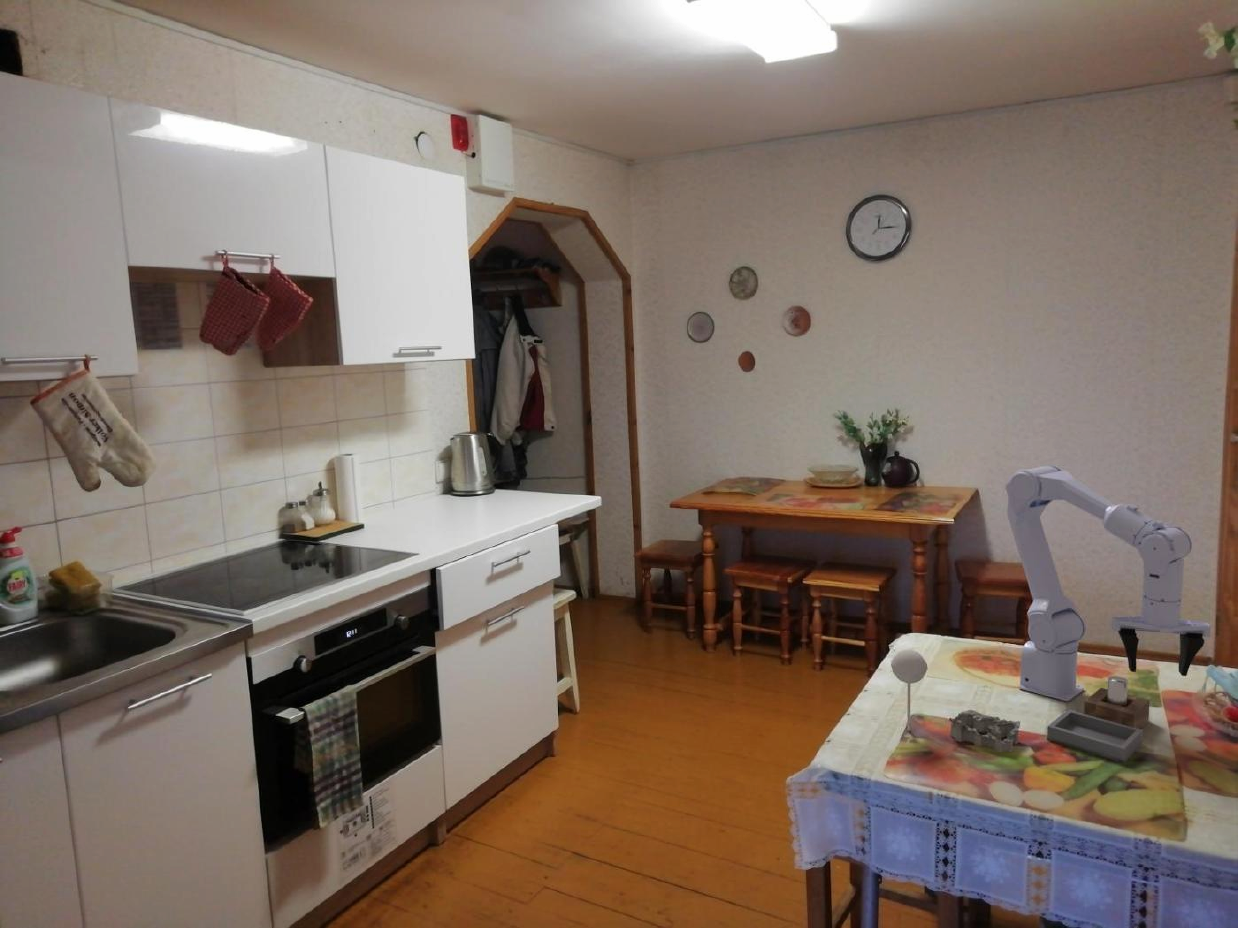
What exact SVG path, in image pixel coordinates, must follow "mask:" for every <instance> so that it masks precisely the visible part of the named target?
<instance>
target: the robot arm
mask: <svg viewBox="0 0 1238 928" xmlns="http://www.w3.org/2000/svg"><path fill="white" fill-rule="evenodd" d="M1004 487H1005V490H1006V493H1007V496H1008V497H1007V498H1008V499H1007V500H1008V501H1007V510H1006V513H1007V518H1008V522H1009V525H1010V529H1011V531H1012V534H1013V538H1014V542H1015V544H1016V545H1015V546H1016V548H1017V551H1018V555H1019V558H1020V561H1021V564H1022V568H1023V570H1024V573H1025V577H1026V582H1027V584H1028V587H1029V591H1030V594H1031V598H1032V603H1031V604H1030V606H1029V609H1028V611H1027V613H1026V615H1027V618H1028V628H1027V633H1028V636H1029V639H1030V640H1027V641H1026V642H1025V644H1024V645H1023V648H1022V650H1021V654H1020V674H1019V675H1020V681H1019V685H1018V689H1021V690H1024V691H1027V692H1031V693H1035V694H1039V695H1041V696H1046V697H1050V698H1053V699H1057V700H1061V701H1065V702H1070V701H1071V700H1073V699H1074V698H1075V697H1076V696H1078V695H1079V694H1080V693H1081V692H1082V691H1084V690H1085V687H1084V686H1082V685H1077V673H1078V667H1077V666H1078V649H1079V648H1078V647H1079V643H1080V640H1082V639H1083V637H1085V635H1086V633H1087V624H1086V621H1085V620H1084V617H1083V616H1082V615H1081V614H1080V613H1079V612H1078V611H1079V610H1077V607H1076V604H1075V602H1074V601H1072V600H1071V599H1070V598H1068V597H1067V596H1066V595H1064V592H1063V588H1062V585H1061V583H1060V579H1059V576H1058V572H1057V570H1056V565H1055V563H1054V560H1053V557H1052V552H1051V550H1050V547H1049V543H1048V540H1047V537H1046V534H1045V533H1046V532H1045V530H1044V527H1043V524H1042V521H1041V515H1042V513H1043V512H1044V511H1045V509H1046V508H1047V507H1048V505H1049V504H1051V502H1053V501H1060V500H1061V501H1066V502H1067V503H1069V504H1070V505H1073V506H1074V507H1076V508H1079V510H1083V511H1084V512H1086V513H1087V514H1089V515H1092V516H1093V517H1096V518H1097V519H1100V520H1101V521H1102V523H1103V527H1104V529H1105V531H1107V532H1108V533H1110V534H1112V535H1114V536H1115V537H1117V538H1119V539H1120V540H1121V541H1124V542H1125V543H1127V544H1128V545H1130V546H1131V547H1133V548H1135V549H1136V550H1137V552H1138V554H1139V556H1140V557H1141V559H1142V561H1143V581H1142V596H1141V615H1136V616H1134V615H1133V616H1111V626H1110V627H1111V629H1112V630H1113V632H1117V633H1118V634H1119V636H1120V639H1121V641H1122V645H1123V646H1124V650H1125V653H1126V657H1127V662H1128V664H1127V665H1128V668H1129V670H1130V672H1132V673H1136V672H1137V652H1138V645H1139V641H1140V639H1139V637H1138V636H1137V635H1138V634H1137V633H1138V632H1148V633H1162V634H1177V635H1178V634H1179V651H1180V652H1179V658H1178V672H1179V674H1180V675H1181V677H1187V676H1188V673H1189V672H1188V671H1189V669H1190V667H1191V665H1192V662H1193V660H1194V659H1195V657H1196V655H1197V654H1198V652H1199V651H1200V650H1201V649H1202V648H1203V647H1204V645H1205V639H1204V637H1205V638H1210V637H1211V631H1212V630H1211V629H1212V627H1211V625H1210V624H1209V623H1208V622H1204V621H1196V620H1195V621H1194V620H1187V619H1182V618H1181V612H1182V610H1181V609H1182V599H1183V598H1182V597H1183V581H1184V569H1185V568H1184V566H1185V559H1184V558H1186V557H1188V555H1190V553H1191V551H1192V548H1193V541H1192V539H1191V537H1190V535H1189V534H1188V533H1187V532H1186V531H1185V530H1183V529H1182V528H1181V527H1180V526H1177V525H1167V526H1166V525H1164V522H1163V521H1162V520H1160V519H1157V520H1155V519H1153V518H1152V517H1150V516H1148V515H1146V514H1145V513H1143V512H1141V511H1139V507H1138V506H1137V505H1135V504H1134V503H1130V504H1126V503H1119V504H1116V505H1115V504H1114V503H1113V502H1111V501H1109V500H1108V499H1106V498H1105V497H1103V496H1102V495H1100V494H1098V493H1097V492H1095V491H1094V490H1092V489H1090V488H1089V487H1088V486H1087V485H1084V484H1083V483H1081V482H1080V481H1078V480H1077V479H1075V478H1074V477H1073V475H1072V474H1071V473H1070V472H1069V471H1067V470H1064V469H1061V467H1060V466H1056V465H1054V464H1047V465H1043V466H1040V467H1036V468H1035V467H1034V468H1029V469H1019V470H1017V471H1015V472H1013V473H1012V475H1011V476H1010V477H1009V479H1008V480H1007V482H1006V483H1005V486H1004Z"/></svg>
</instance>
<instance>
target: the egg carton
mask: <svg viewBox="0 0 1238 928" xmlns="http://www.w3.org/2000/svg"><path fill="white" fill-rule="evenodd" d="M948 721H949V722H950V737H952V738H954V741H957V742H959V743H960V742H966V741H967V742H970V743H972V744H974V746H975V747H980V748H983V747H990V748H993V749H994V751H995V752H998V753H1003V752H1010V753H1011V752H1012V751H1013V747H1014V746H1013V745H1017V744H1018V743H1019V732H1020V731H1019V729H1020V725H1021V720H1020V721H1019V720H1018V721H1012V720H1007V719H1004V718H1003V719H1001V718H1000V717H999V716H991V715H988V714H982V713H980V712H978V711H977V710H973V709H968V710H967V709H966V710H964V711H961V712H960V713H958V715H957V716H956V715H955V716H954V718H952V717H949V719H948ZM980 733H986V734H981V735H980ZM1006 737H1007V738H1006ZM1002 738H1003V739H1002Z"/></svg>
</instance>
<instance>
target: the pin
mask: <svg viewBox="0 0 1238 928" xmlns="http://www.w3.org/2000/svg"><path fill="white" fill-rule="evenodd" d="M1128 682H1129V680H1128V679H1127V678H1125V677H1123V676H1117V675H1113V676H1111V675H1110V676H1109V677H1107V689H1108V696H1107V703H1110V704H1113V705H1117V706H1121V707H1125V708H1126V707H1127V694H1128V684H1129V683H1128Z"/></svg>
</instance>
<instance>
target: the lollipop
mask: <svg viewBox="0 0 1238 928" xmlns="http://www.w3.org/2000/svg"><path fill="white" fill-rule="evenodd" d="M890 667H891V669H892V672H893V675H894V676H895V677H896V679H898V680H899V681H900V682H903V683H905V684H907V715H906V716H907V719H906V720H907V721H906V722H907V725H906V726H907V731H908V732H910V730H911V684H915V683H918V682H920V681H921V680H922V679H924V677H925V676H926V674H927V671H928V669H929V668H928V663H927V662H926V660H925V658H924V656H922V654H920V652H918V651H915V650H913V649H903V650H902V649H901V650H900V651H898V652H897V653H896V654H895V655H894V656H893V658H892V660H891V663H890Z"/></svg>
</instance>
